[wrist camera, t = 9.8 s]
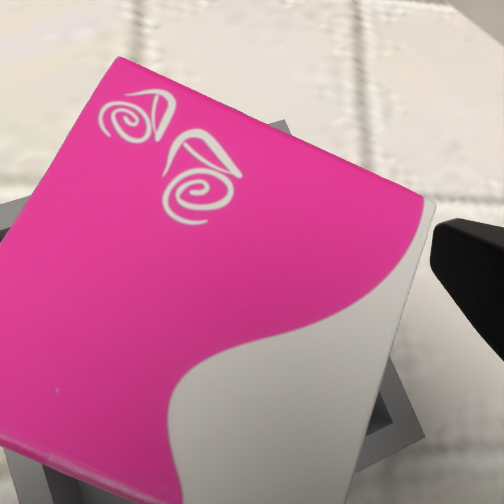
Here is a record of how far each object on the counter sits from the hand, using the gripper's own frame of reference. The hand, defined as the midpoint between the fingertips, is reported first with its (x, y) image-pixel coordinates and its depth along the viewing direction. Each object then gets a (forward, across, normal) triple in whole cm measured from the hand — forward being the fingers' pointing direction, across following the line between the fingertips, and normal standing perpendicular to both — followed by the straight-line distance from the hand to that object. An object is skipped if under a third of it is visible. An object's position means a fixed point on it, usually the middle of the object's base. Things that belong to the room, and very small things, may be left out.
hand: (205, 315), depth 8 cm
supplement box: (+7, 0, +7) cm, 10 cm away
